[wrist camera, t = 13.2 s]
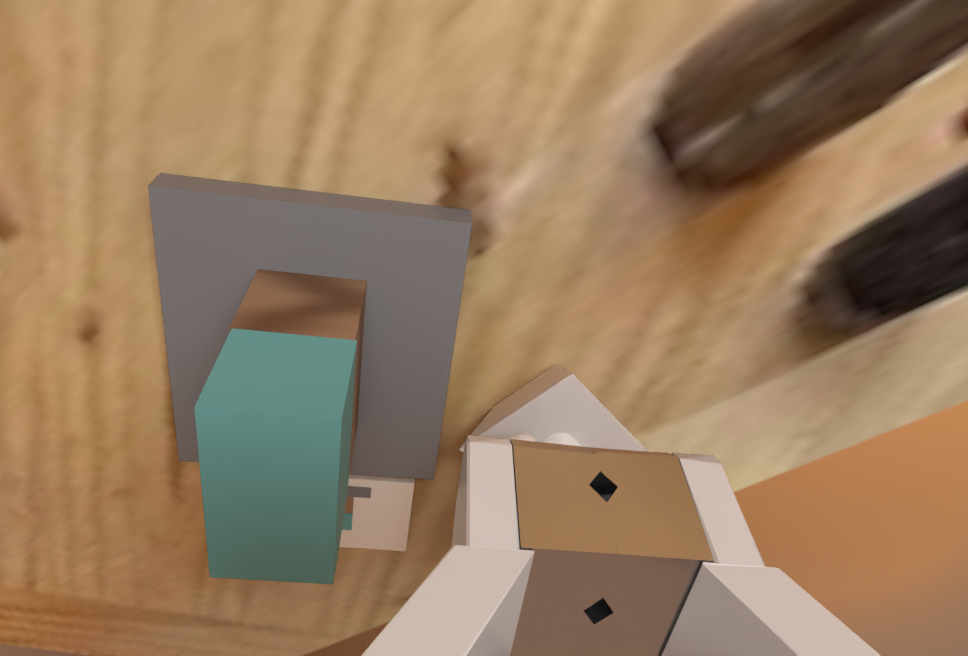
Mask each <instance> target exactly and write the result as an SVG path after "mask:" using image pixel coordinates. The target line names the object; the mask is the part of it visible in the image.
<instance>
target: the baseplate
mask: <svg viewBox="0 0 968 656" xmlns="http://www.w3.org/2000/svg"><path fill="white" fill-rule="evenodd" d="M148 189H149V198H150V207H151V215H152V224H153V233H154V242H155V251H156V260H157V269H158V278H159V286H160V295H161V304H162V313H163V322H164V331H165V340H166V349H167V358H168V366H169V375H170V384H171V393H172V402H173V411H174V420H175V429H176V438H177V446H178V455H179V461H188V462H199V452H198V441H197V430H196V419H195V408H194V407H195V405H196V402H197V400H198V398H199V396H200V394H201V392H202V390H203V388H204V386H205V384H206V381H207V379H208V377H209V375H210V373H211V371H212V369H213V367H214V365H215V363H216V360H217V358H218V356H219V354H220V352H221V350H222V348H223V346H224V344H225V341H226V339H227V337H228V335H229V333H230V326H231V324H232V322H233V320H234V318H235V315H236V313H237V311H238V309H239V307H240V305H241V303H242V301H243V299H244V297H245V295H246V293H247V291H248V288H249V286H250V284H251V282H252V280H253V278H254V276H255V274H256V272H257V270H258V269H262V270H272V271H281V272H291V273H300V274H309V275H319V276H328V277H338V278H347V279H356V280H366V281H367V287H366V302H365V317H364V332H363V347H362V362H361V377H360V393H359V408H358V423H357V431H356V437H355V443H354V449H353V455H352V462H351V468H350V474H361V475H375V476H388V477H401V478H415V479H428V480H434V475H435V468H436V461H437V455H438V448H439V441H440V434H441V428H442V421H443V414H444V408H445V401H446V394H447V388H448V381H449V374H450V367H451V361H452V354H453V347H454V341H455V334H456V327H457V320H458V314H459V307H460V300H461V294H462V287H463V280H464V273H465V267H466V260H467V253H468V247H469V240H470V233H471V227H472V217H471V210H464V209H455V208H447V207H439V206H430V205H422V204H414V203H405V202H397V201H389V200H380V199H372V198H363V197H355V196H347V195H338V194H330V193H322V192H313V191H305V190H297V189H288V188H280V187H271V186H263V185H255V184H246V183H238V182H230V181H221V180H213V179H205V178H196V177H188V176H179V175H171V174H163V173H160V174H159V175H158V176H157V177H156V178H155V179H154V180H153V181H152V182H151V183H150V184H149V185H148Z"/></svg>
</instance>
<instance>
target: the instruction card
mask: <svg viewBox="0 0 968 656" xmlns="http://www.w3.org/2000/svg"><path fill="white" fill-rule="evenodd" d="M414 484H415V479H412V478H398V477H385V476H372V475H359V474H349V480H348V495H347V502H346V508H345V514H344V520H343V527H342V533H341V539H340V545H339V547H347V548H363V549H379V550H395V551H406V545H407V538H408V530H409V522H410V515H411V507H412V499H413V491H414Z"/></svg>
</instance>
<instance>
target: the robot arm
mask: <svg viewBox="0 0 968 656" xmlns="http://www.w3.org/2000/svg"><path fill="white" fill-rule="evenodd" d="M361 656H881V655H879V654H878V653H877V652H876V651H875V650H874V649H872V648H871V647H870V646H869V645H868V644H867V643H865V642H864V641H863V640H862V639H861V638H860V637H858V636H857V635H856V634H855V633H854V632H852V631H851V630H850V629H849V628H848V627H847V626H846V625H844V624H843V623H842V622H841V621H840V620H839V619H837V618H836V617H835V616H834V615H833V614H832V613H830V612H829V611H828V610H827V609H826V608H825V607H823V606H822V605H821V604H820V603H819V602H818V601H816V600H815V599H814V598H813V597H812V596H811V595H809V594H808V593H807V592H806V591H805V590H804V589H802V588H801V587H800V586H799V585H798V584H796V583H795V582H794V581H793V580H792V579H791V578H790V577H788V576H787V575H786V574H785V573H784V572H783V571H781V570H780V569H779V568H773V567H765V565H764V562H763V560H762V558H761V556H760V553H759V551H758V549H757V546H756V544H755V541H754V539H753V537H752V535H751V532H750V530H749V528H748V525H747V523H746V521H745V519H744V516H743V514H742V512H741V509H740V507H739V505H738V502H737V500H736V497H735V495H734V493H733V490H732V488H731V486H730V483H729V481H728V479H727V477H726V474H725V472H724V470H723V467H722V465H721V463H720V461H719V460H718V459H717V458H716V457H714V456H713V455H698V454H682V453H672V454H669V453H659V452H646V451H632V450H619V449H606V448H592V447H582V446H572V445H563V444H554V443H544V442H535V441H525V440H516V439H510V441H509V440H508V439H499V438H489V437H480V436H471V435H468V436H467V438H466V441H465V445H464V452H463V459H462V465H461V472H460V479H459V485H458V492H457V499H456V507H455V517H454V526H453V536H452V547H451V548H450V549H449V550H448V552H447V553H446V554H445V555H444V557H443V558H442V559H441V560H440V561H439V563H438V564H437V565H436V566H435V567H434V569H433V570H432V571H431V572H430V573H429V575H428V576H427V577H426V578H425V579H424V581H423V582H422V583H421V584H420V585H419V587H418V588H417V589H416V590H415V591H414V593H413V594H412V595H411V596H410V597H409V599H408V600H407V601H406V602H405V603H404V605H403V606H402V607H401V608H400V609H399V611H398V612H397V613H396V614H395V615H394V617H393V618H392V619H391V620H390V621H389V623H388V624H387V625H386V626H385V628H384V629H383V630H382V631H381V632H380V634H379V635H378V636H377V637H376V638H375V640H374V641H373V642H372V643H371V644H370V646H369V647H368V648H367V649H366V650H365V652H364V653H363V654H362V655H361Z"/></svg>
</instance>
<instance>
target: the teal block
mask: <svg viewBox="0 0 968 656" xmlns="http://www.w3.org/2000/svg"><path fill="white" fill-rule="evenodd" d="M356 350H357V340H347V339H337V338H327V337H317V336H306V335H296V334H286V333H275V332H265V331H255V330H245V329H234V328H232V329H231V331H230V333H229V335H228V337H227V339H226V341H225V344H224V346H223V348H222V350H221V352H220V354H219V356H218V358H217V360H216V363H215V365H214V367H213V369H212V371H211V373H210V375H209V377H208V379H207V381H206V384H205V386H204V388H203V390H202V392H201V394H200V396H199V398H198V400H197V402H196V405H195V407H194V408H195V419H196V430H197V441H198V452H199V463H200V474H201V485H202V496H203V507H204V518H205V529H206V540H207V551H208V562H209V574H210V577H215V578H233V579H250V580H267V581H285V582H302V583H319V584H333V582H334V576H335V570H336V564H337V557H338V551H339V545H340V539H341V533H342V527H343V520H344V514H345V508H346V502H347V495H348V479H349V463H350V446H351V430H352V414H353V398H354V382H355V366H356Z"/></svg>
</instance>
